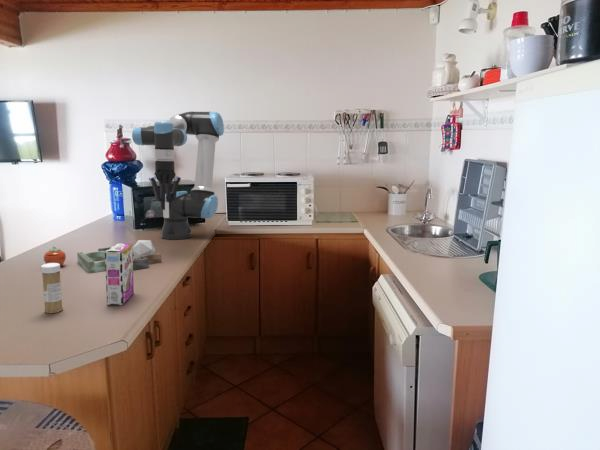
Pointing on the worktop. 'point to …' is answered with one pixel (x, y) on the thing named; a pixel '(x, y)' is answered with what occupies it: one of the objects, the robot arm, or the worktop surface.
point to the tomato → (55, 256)
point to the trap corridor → (90, 266)
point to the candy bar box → (119, 273)
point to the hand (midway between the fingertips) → (166, 217)
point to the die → (143, 248)
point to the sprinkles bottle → (52, 287)
